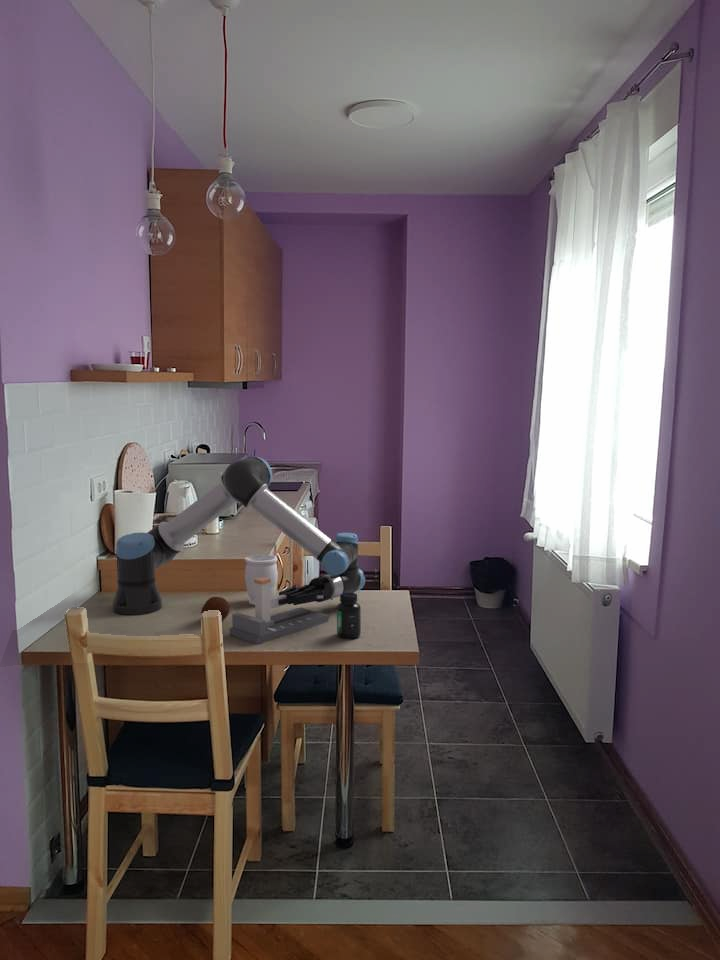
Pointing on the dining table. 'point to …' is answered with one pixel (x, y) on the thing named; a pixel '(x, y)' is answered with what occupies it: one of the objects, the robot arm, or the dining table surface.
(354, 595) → the supplement bottle
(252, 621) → the console
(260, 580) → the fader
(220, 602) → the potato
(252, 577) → the jar
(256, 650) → the dining table surface
